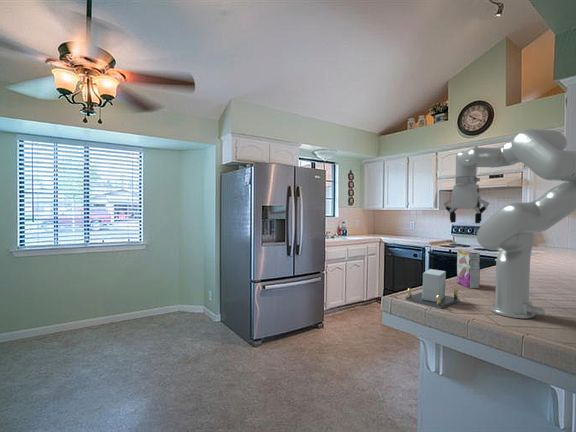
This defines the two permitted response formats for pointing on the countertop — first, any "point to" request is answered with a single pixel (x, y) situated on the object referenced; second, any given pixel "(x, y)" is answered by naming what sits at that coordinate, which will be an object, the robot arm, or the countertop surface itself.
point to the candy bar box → (468, 268)
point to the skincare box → (433, 284)
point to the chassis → (439, 304)
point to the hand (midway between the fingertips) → (465, 222)
